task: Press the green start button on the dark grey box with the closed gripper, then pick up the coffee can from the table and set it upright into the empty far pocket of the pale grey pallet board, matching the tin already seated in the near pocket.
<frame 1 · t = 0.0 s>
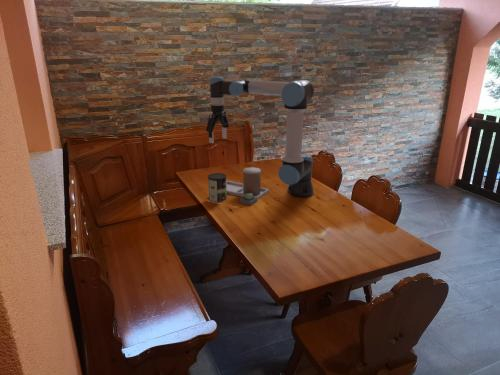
hand: (218, 140, 220), 28 cm above the table, fingers open, 13 cm apart
start button: (248, 196, 201), point 4 cm above the table, slide at 0.0 cm
button box: (248, 203, 202), on the table
coffee can: (217, 199, 207), on the table
seated tin: (251, 193, 214), point 1 cm above the table, touching pallet board
pallet board: (241, 192, 218), on the table
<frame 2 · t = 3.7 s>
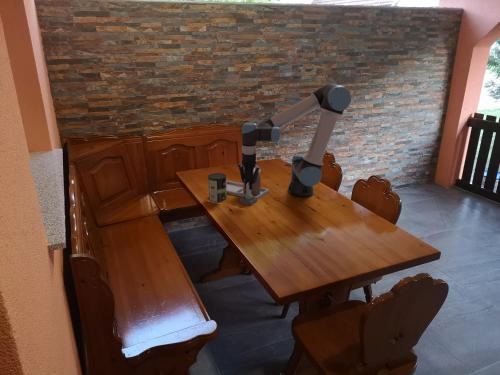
hand: (248, 194, 200), 5 cm above the table, fingers closed
start button: (248, 197, 201), point 3 cm above the table, slide at 0.5 cm, touching gripper
everything else where it was.
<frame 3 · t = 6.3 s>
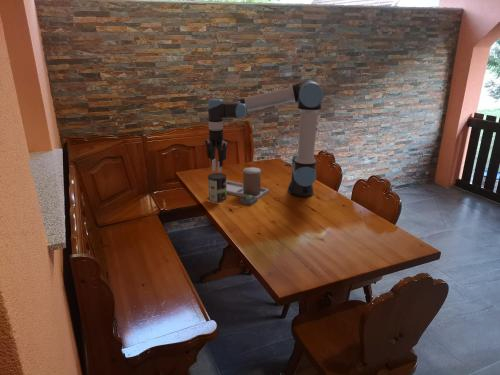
hand: (217, 171, 201), 17 cm above the table, fingers open, 3 cm apart
start button: (248, 198, 201), point 3 cm above the table, slide at 1.0 cm
everything else where it was.
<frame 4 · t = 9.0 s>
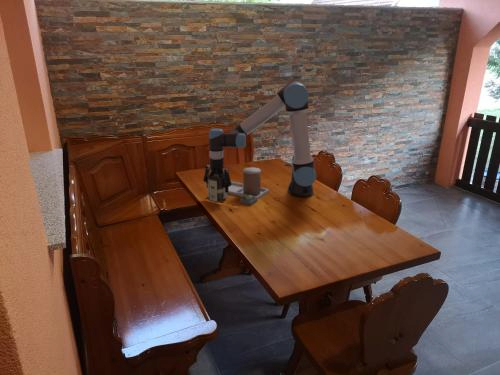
hand: (217, 195, 207), 2 cm above the table, fingers closed on coffee can, 10 cm apart
coffee can: (217, 199, 207), on the table, touching gripper
everything else where it was.
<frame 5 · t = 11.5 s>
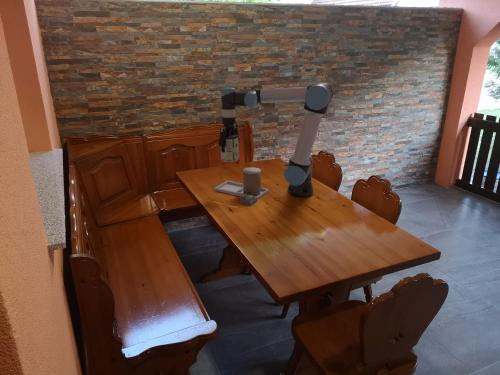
hand: (229, 155, 211), 22 cm above the table, fingers closed on coffee can, 10 cm apart
coffee can: (229, 159, 212), point 20 cm above the table, touching gripper
everything else where it was.
when the fingers open (5 cm above the table, at t = 14.3 s): coffee can drops 1 cm, resting on pallet board.
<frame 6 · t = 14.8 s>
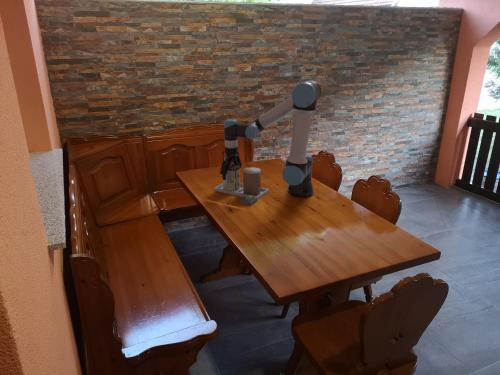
hand: (231, 181, 219), 6 cm above the table, fingers open, 13 cm apart
coffee can: (231, 189, 220), point 1 cm above the table, touching pallet board
everything else where it was.
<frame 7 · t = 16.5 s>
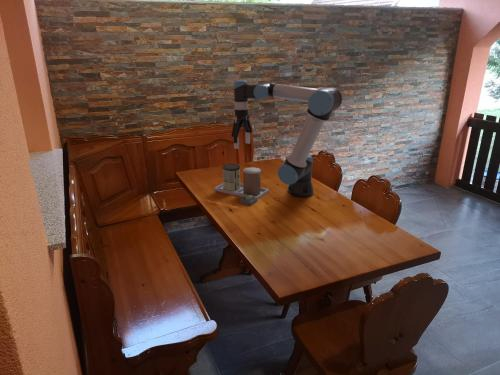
hand: (242, 145, 214), 27 cm above the table, fingers open, 13 cm apart
nothing on the table moved.
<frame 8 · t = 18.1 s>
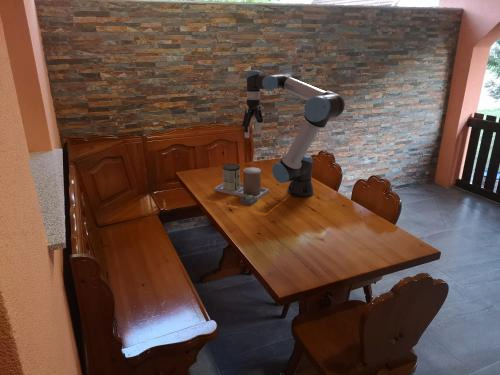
hand: (252, 135, 217), 32 cm above the table, fingers open, 13 cm apart
nothing on the table moved.
at the end: coffee can inside the target area on the pallet board (0.2 cm from its centre), point 0.8 cm above the pallet board's base; coffee can tilted 0°; the gripper is holding nothing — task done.
